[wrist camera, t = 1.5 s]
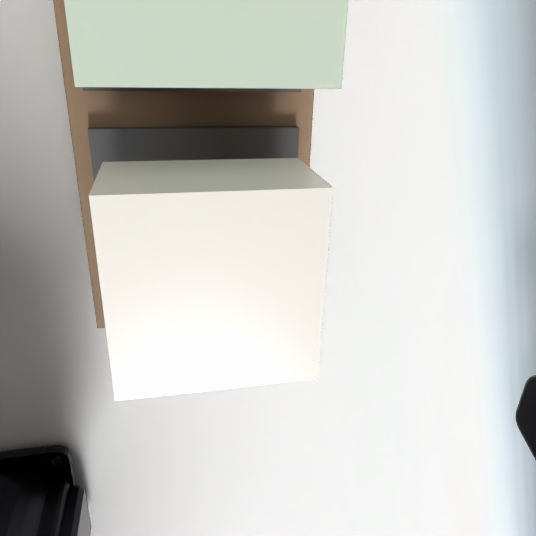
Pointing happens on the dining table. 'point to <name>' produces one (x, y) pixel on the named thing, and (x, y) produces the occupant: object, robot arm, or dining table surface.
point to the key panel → (175, 129)
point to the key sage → (207, 43)
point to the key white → (211, 272)
